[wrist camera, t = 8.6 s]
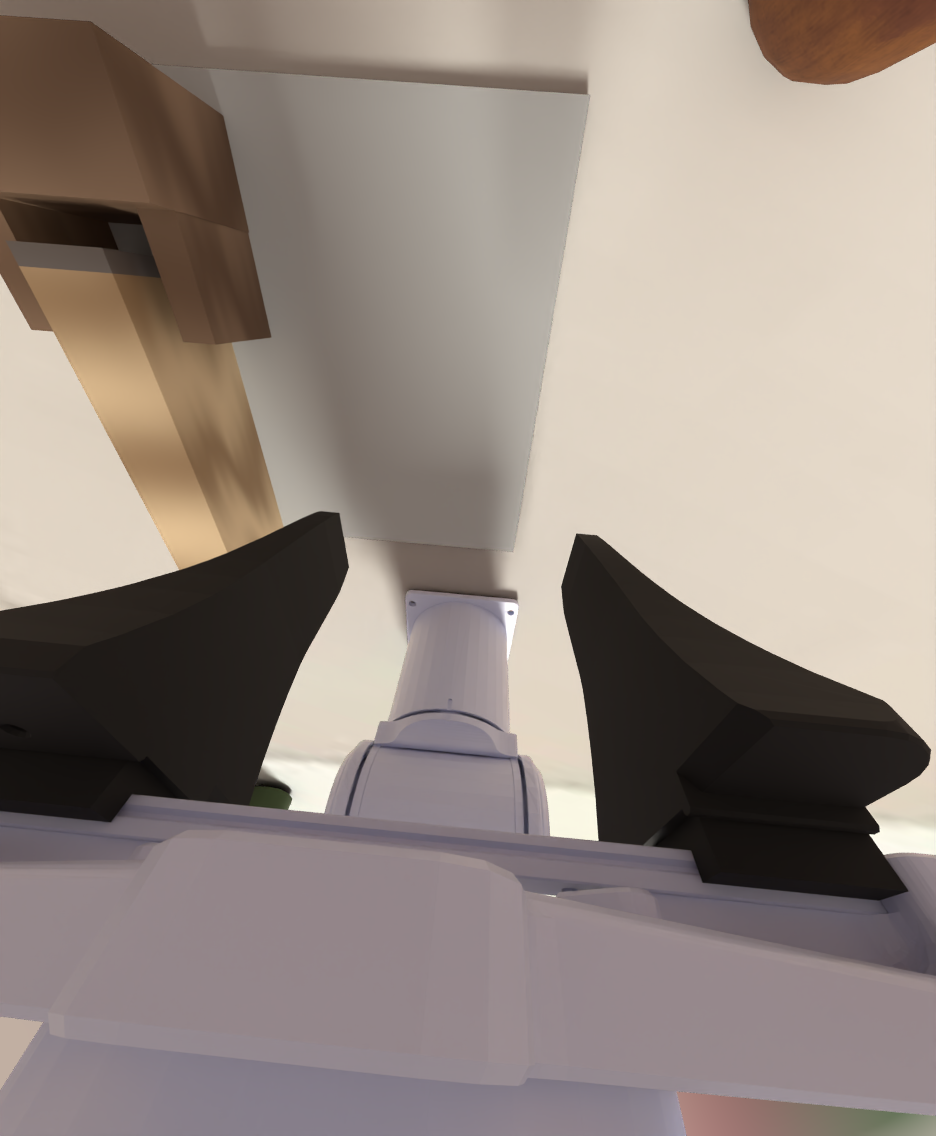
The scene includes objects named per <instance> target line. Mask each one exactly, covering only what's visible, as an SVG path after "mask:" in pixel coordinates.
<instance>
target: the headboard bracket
mask: <svg viewBox="0 0 936 1136" xmlns="http://www.w3.org/2000/svg"><path fill="white" fill-rule="evenodd" d="M108 222H110V223H123V224H136V225H143V228H144V231H145V234H146V237H147V239H148V242H149V245H150V248H151V251H152V254H153V257H154V259H155V262H156V265H157V268H158V271H159V274H160V277H161V279H162V282H163V285H164V288H165V291H166V294H167V296H168V299H169V302H170V305H171V308H172V311H173V314H174V316H175V319H176V322H177V325H178V328H179V331H180V334H181V336H182V339H183V342H189V343H201V344H214V345H217V344H225V343H233V342H241V341H248V340H256V339H264V338H272V337H271V332H270V328H269V324H268V319H267V315H266V310H265V306H264V301H263V297H262V292H261V288H260V283H259V279H258V274H257V270H256V265H255V261H254V257H253V252H252V248H251V243H250V239H249V234H248V233H249V229H248V224H247V220H246V215H245V211H244V206H243V202H242V197H241V193H240V188H239V184H238V179H237V175H236V170H235V166H234V161H233V157H232V152H231V148H230V143H229V139H228V134H227V130H226V125H225V121H224V116H223V115H222V114H220V113H219V112H218V111H216V110H215V109H213V108H212V107H210V106H209V105H208V104H206V103H205V102H203V101H202V100H201V99H199V98H198V97H196V96H195V95H194V94H192V93H191V92H189V91H188V90H186V89H185V88H184V87H182V86H181V85H179V84H178V83H177V82H175V81H174V80H172V79H171V78H170V77H168V76H167V75H165V74H164V73H162V72H161V71H160V70H158V69H157V68H155V67H154V66H153V65H151V64H150V63H148V62H147V61H145V60H144V59H143V58H141V57H140V56H138V55H137V54H136V53H134V52H133V51H131V50H130V49H129V48H127V47H126V46H124V45H123V44H121V43H120V42H119V41H117V40H116V39H114V38H113V37H112V36H110V35H109V34H107V33H106V32H105V31H103V30H102V29H100V28H99V27H97V26H96V25H95V24H93V23H92V22H89V21H74V20H60V19H45V18H31V17H16V16H1V15H0V274H1V276H2V278H3V279H4V281H5V283H6V285H7V287H8V288H9V290H10V292H11V294H12V296H13V297H14V299H15V301H16V303H17V305H18V306H19V308H20V310H21V312H22V313H23V315H24V317H25V319H26V321H27V322H28V324H29V326H30V328H31V330H42V331H53V330H52V328H51V326H50V324H49V322H48V320H47V318H46V316H45V315H44V313H43V311H42V309H41V307H40V305H39V303H38V301H37V299H36V298H35V296H34V294H33V292H32V290H31V288H30V286H29V284H28V282H27V280H26V279H25V277H24V275H23V273H22V271H21V269H20V267H19V265H18V263H17V262H16V260H15V258H14V256H13V254H12V252H11V250H10V248H9V246H8V244H7V243H6V241H5V240H7V241H20V242H33V243H46V244H59V245H72V246H85V247H97V248H106V249H113V250H119V249H118V247H117V244H116V242H115V239H114V237H113V234H112V231H111V229H110V226H109V224H108Z"/></svg>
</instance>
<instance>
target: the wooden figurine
mask: <svg viewBox="0 0 936 1136" xmlns="http://www.w3.org/2000/svg"><path fill="white" fill-rule="evenodd" d="M748 3H749V13H750V24H751V28H752V31H753V33H754V35H755V37H756V40H757V42H758V44H759V47H760V49H761V51H762V54H763V56H764V57H765V58H766V59H767V60H768V61H769V62H770V63H771V64H772V65H773V66H774V67H775V68H776V69H777V70H778V71H779V72H780V73H781V74H782V75H783V76H784V77H786V78H788V79H790V80H792V81H797V82H806V83H815V84H823V85H830V84H846V83H850V82H852V81H855V80H858V79H861V78H864V77H866V76H869V75H872V74H875V73H878V72H880V71H882V70H884V69H886V68H888V67H890V66H892V65H893V64H895V63H897V62H899V61H901V60H903V59H905V58H907V57H909V56H911V55H913V54H915V53H917V52H919V51H921V50H922V49H924V48H926V47H928V46H930V45H932V44H934V43H936V0H748Z"/></svg>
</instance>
